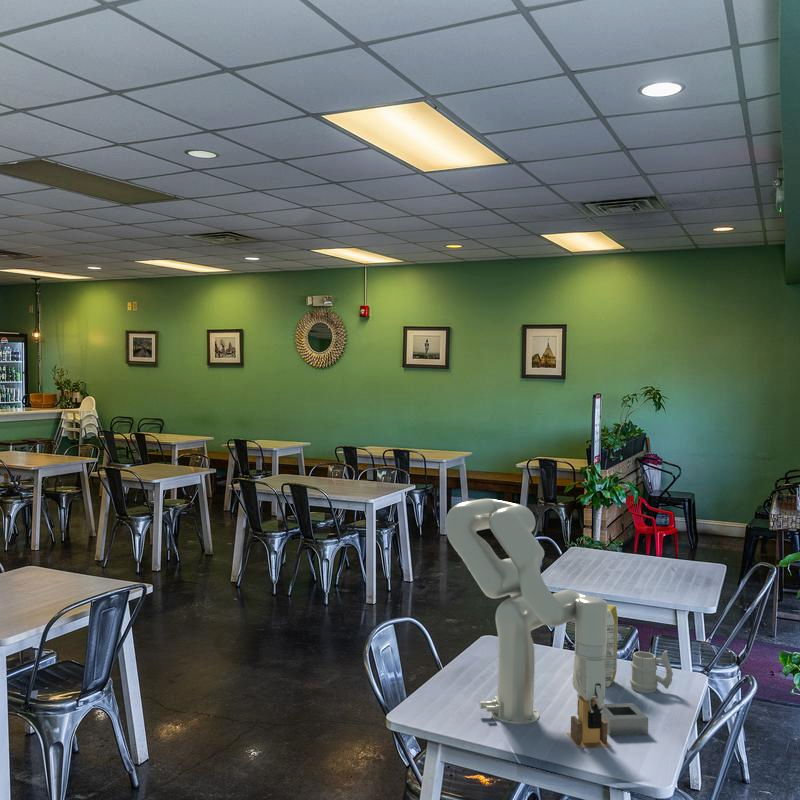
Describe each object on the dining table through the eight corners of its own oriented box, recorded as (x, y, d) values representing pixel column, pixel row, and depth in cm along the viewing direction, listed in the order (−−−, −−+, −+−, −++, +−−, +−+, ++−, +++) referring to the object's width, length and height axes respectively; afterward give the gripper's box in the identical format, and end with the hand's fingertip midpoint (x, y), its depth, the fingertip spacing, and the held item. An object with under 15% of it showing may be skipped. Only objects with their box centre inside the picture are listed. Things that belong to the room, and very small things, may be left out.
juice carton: (618, 680, 223) (619, 601, 223) (611, 689, 216) (612, 607, 216) (587, 674, 228) (589, 596, 227) (579, 682, 221) (581, 602, 221)
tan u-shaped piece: (578, 751, 177) (578, 727, 177) (566, 736, 185) (567, 713, 185) (611, 750, 178) (612, 726, 178) (598, 735, 186) (599, 712, 186)
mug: (631, 681, 222) (631, 641, 222) (673, 688, 218) (673, 647, 218) (628, 690, 215) (629, 649, 215) (671, 698, 211) (672, 656, 211)
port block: (609, 739, 184) (610, 719, 184) (595, 723, 193) (596, 704, 193) (647, 737, 185) (648, 718, 185) (632, 722, 194) (632, 703, 194)
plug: (582, 743, 180) (583, 702, 180) (577, 737, 183) (578, 697, 183) (599, 742, 181) (600, 701, 181) (594, 736, 184) (595, 696, 184)
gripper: (563, 637, 190) (562, 707, 190) (589, 661, 173) (587, 738, 173) (591, 637, 191) (590, 706, 191) (619, 660, 174) (618, 737, 174)
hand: (589, 721), depth 182 cm, fingers open, 6 cm apart
